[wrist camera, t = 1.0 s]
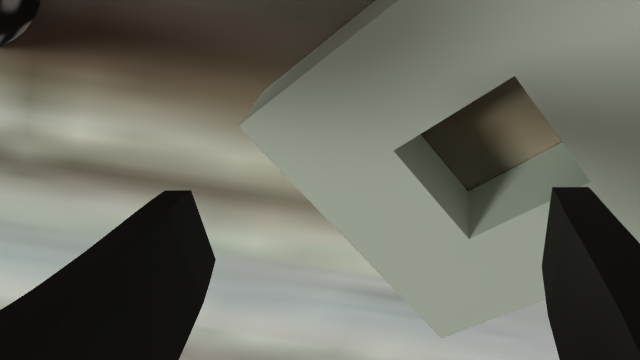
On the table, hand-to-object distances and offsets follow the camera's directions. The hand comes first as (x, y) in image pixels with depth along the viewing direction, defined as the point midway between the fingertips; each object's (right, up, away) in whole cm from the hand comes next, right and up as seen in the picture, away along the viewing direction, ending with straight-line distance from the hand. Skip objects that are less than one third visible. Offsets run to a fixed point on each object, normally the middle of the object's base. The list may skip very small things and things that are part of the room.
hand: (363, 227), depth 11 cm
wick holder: (+5, +3, +9) cm, 11 cm away
